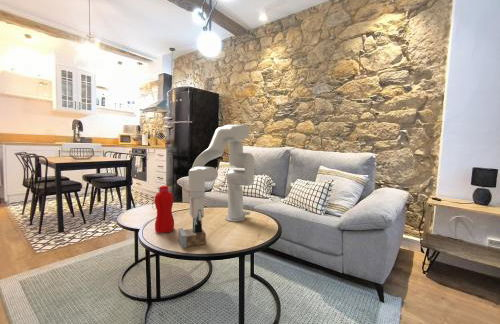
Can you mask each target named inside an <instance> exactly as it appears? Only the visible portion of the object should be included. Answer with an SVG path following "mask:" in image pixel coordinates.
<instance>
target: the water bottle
mask: <svg viewBox="0 0 500 324" xmlns="http://www.w3.org/2000/svg"><path fill="white" fill-rule="evenodd" d="M174 200H175V199H174V195H173V193H172V192H171V191H169V186H168V185H161V186H160V187H159V189H158V192H157V193H156V194H155V195H154V198H153V200H152V202H153V203H152V205H151V206H152V209H153V210H155V209H156V217H155V223H154V230H155V232H156V233H158V234H163V233H164V234H165V233H166V234H168V233H171V232H172V231H173V230H174V228H175V220H174V215H173V212H172V210H173V204H174ZM154 205H155V208H154Z"/></svg>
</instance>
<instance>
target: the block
mask: <svg viewBox="0 0 500 324" xmlns="http://www.w3.org/2000/svg"><path fill="white" fill-rule="evenodd" d="M183 230H184V232H185V234H186V237H187V248H189V247H193V246H199V245H204V244H207V243H206V242H207V239H206V238H207V236H206V235H207V234H206V231H205V230H204V229H203V228H202V232H199V233H194V229H193V228H189V229H188V228H187V229H186V228H185V229H183Z"/></svg>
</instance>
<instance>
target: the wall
mask: <svg viewBox="0 0 500 324" xmlns="http://www.w3.org/2000/svg"><path fill="white" fill-rule="evenodd" d="M184 230H185V229H184V228H183V227H182V228H178V232H177V233H178V242H179V245H180V247H181V249H187V248H188V247H187V237H186V234H185V232H184Z"/></svg>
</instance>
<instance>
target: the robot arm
mask: <svg viewBox="0 0 500 324" xmlns="http://www.w3.org/2000/svg"><path fill="white" fill-rule="evenodd" d="M249 135H250V127H249V126H248V125H247V124H246V123H237V124H233V123H232V124H225V125H223V126H220V127H217V128H216V129H215V131H214V133H213V136H212V138H211V140H210V143H209V145H208V148H206V149H204V150H203V151H202V152H201V153H200V154H199V155H198V156H197V157H196V158H195V160H194V162H193V164H192V167H191V168H190V169H189V170H188V198H189V199H190V200H189V215H190V217H191V218H192V229H194V219H195V221H196V224H195V232H196V233H197V232H202V229H203V227H202V226H203V225H202V224H203V218H204V214H205V213H204V212H205V211H204V208H205V207H204V198H206V197H205V196H206V193H205V192H206V191H205V190H206V189H205V188H206V183H211V182H215V181H216V180H217V179H218V177H219V172H218V169H217V168H216V167H213V166H205V165H206V164H207V163H208V162H210V161H212V160H215V159H217V158H219V157H221V156H223V154H224V151H225V149H226V146H227V144H228V146H229V148H228V149H229V159H228V160H229V161H228V163H229V166H230V167H231V168H237V169H230V170H229V171H227V173H226V183H227V215H226V216H225V221H228V222H235V223H237V222H242V221H245V220H246V216H249V215H250V214H251V213H250V211H247V210H246V211H244V191H243V187H242V186H244V187H246V186H247V187H250V186H252V185H253V183H254V181H255V157H254V156H253V154H252V153H249V152H244V144H243V142H242V140H246V139H247V138H248V137H249ZM242 169H243V170H242ZM197 219H198V220H197Z"/></svg>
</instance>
